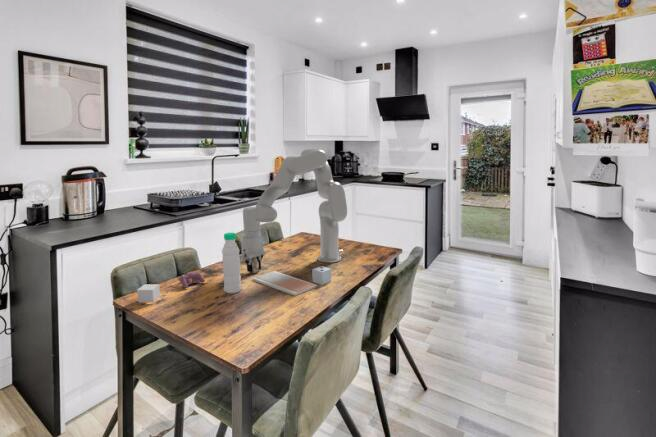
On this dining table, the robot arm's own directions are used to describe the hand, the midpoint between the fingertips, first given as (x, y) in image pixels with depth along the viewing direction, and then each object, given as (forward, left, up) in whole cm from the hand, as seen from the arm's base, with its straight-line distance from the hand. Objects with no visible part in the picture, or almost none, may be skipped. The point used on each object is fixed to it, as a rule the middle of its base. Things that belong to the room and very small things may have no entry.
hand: (254, 270), depth 186 cm
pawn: (0, 0, -1) cm, 1 cm away
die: (-13, +32, -1) cm, 35 cm away
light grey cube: (+48, -5, -2) cm, 49 cm away
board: (0, +21, -1) cm, 21 cm away
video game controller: (+28, -8, -2) cm, 29 cm away
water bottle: (+20, +11, -2) cm, 23 cm away
